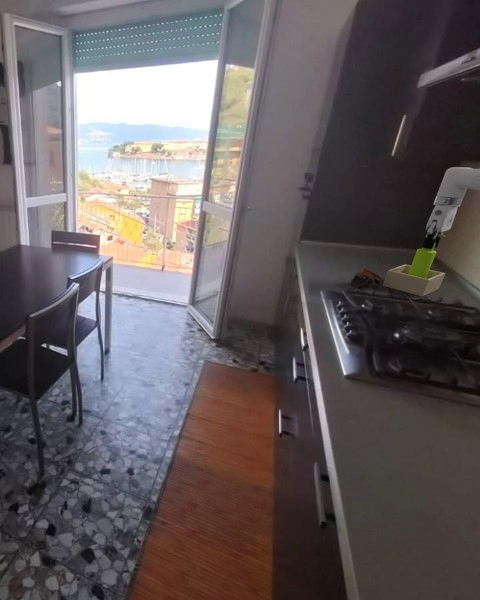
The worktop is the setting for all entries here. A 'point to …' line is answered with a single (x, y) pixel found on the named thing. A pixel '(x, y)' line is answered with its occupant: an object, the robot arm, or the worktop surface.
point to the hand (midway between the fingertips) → (429, 247)
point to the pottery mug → (365, 279)
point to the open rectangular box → (413, 281)
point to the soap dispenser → (423, 261)
